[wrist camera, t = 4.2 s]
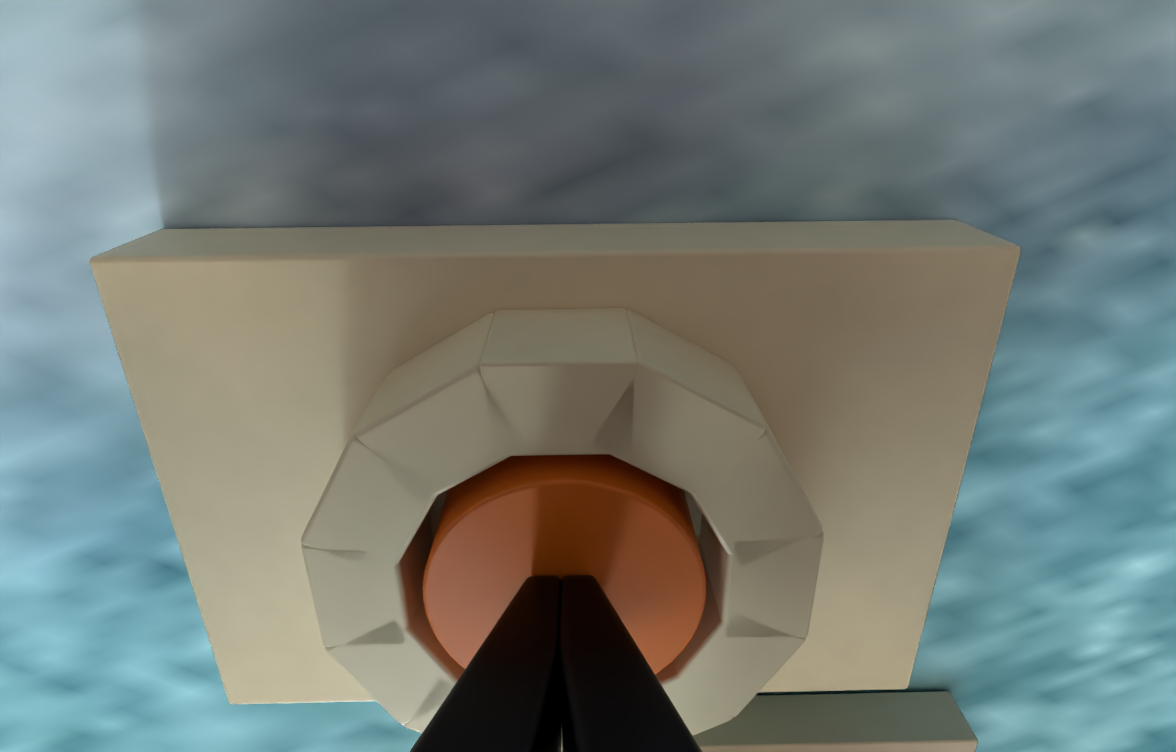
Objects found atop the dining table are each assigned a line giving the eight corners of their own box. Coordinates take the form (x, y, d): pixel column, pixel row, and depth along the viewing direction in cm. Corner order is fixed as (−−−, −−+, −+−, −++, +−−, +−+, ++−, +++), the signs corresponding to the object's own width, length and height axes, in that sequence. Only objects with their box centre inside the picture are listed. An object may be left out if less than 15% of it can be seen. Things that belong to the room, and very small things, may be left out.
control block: (267, 633, 14) (172, 808, 10) (158, 227, 10) (-30, 302, 7) (871, 620, 14) (961, 788, 11) (958, 218, 10) (1128, 286, 7)
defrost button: (456, 612, 11) (436, 705, 9) (433, 412, 10) (405, 483, 8) (680, 607, 11) (699, 699, 9) (692, 409, 10) (717, 477, 8)
